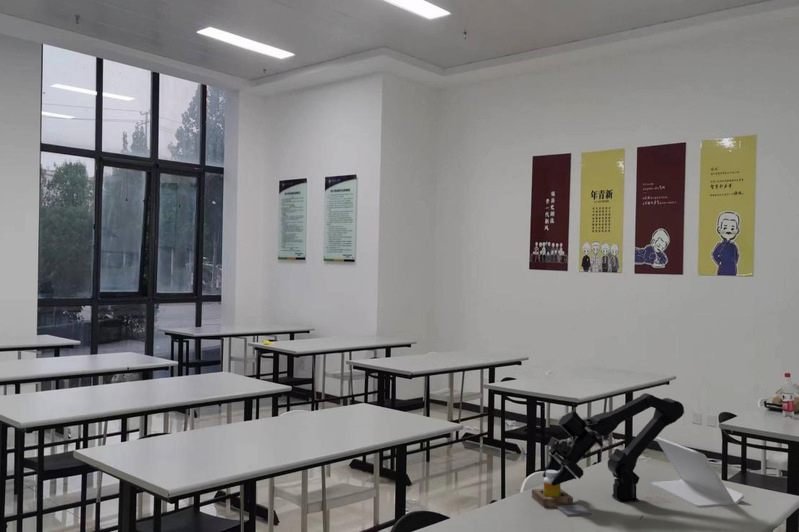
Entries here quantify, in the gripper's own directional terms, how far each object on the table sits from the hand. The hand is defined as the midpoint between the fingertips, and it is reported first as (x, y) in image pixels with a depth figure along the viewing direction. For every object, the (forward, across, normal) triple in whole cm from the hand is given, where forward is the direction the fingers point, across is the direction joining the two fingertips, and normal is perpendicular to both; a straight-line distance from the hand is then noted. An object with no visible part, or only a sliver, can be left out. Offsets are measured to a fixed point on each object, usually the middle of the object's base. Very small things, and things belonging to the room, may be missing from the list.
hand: (547, 480), depth 218 cm
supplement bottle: (+4, 0, +6) cm, 7 cm away
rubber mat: (+1, +10, +8) cm, 13 cm away
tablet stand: (-33, -4, +43) cm, 54 cm away
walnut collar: (+4, 0, +6) cm, 7 cm away
